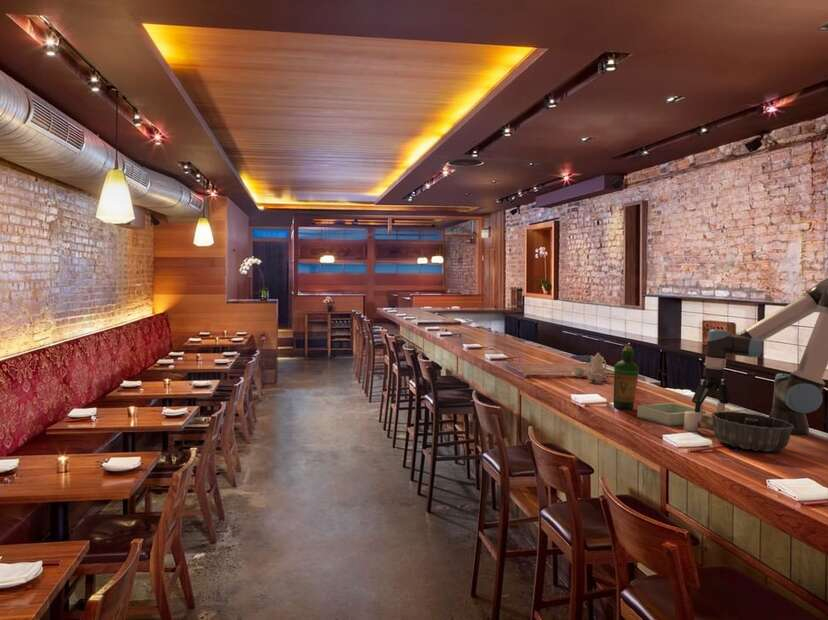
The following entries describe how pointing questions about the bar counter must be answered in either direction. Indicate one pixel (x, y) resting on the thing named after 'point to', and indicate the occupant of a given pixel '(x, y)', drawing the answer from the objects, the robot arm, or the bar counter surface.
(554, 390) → the bar counter surface
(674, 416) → the tote
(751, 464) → the bar counter surface
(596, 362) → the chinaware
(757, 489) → the bar counter surface
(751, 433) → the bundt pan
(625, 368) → the bottle
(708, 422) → the cube
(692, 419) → the cylinder
